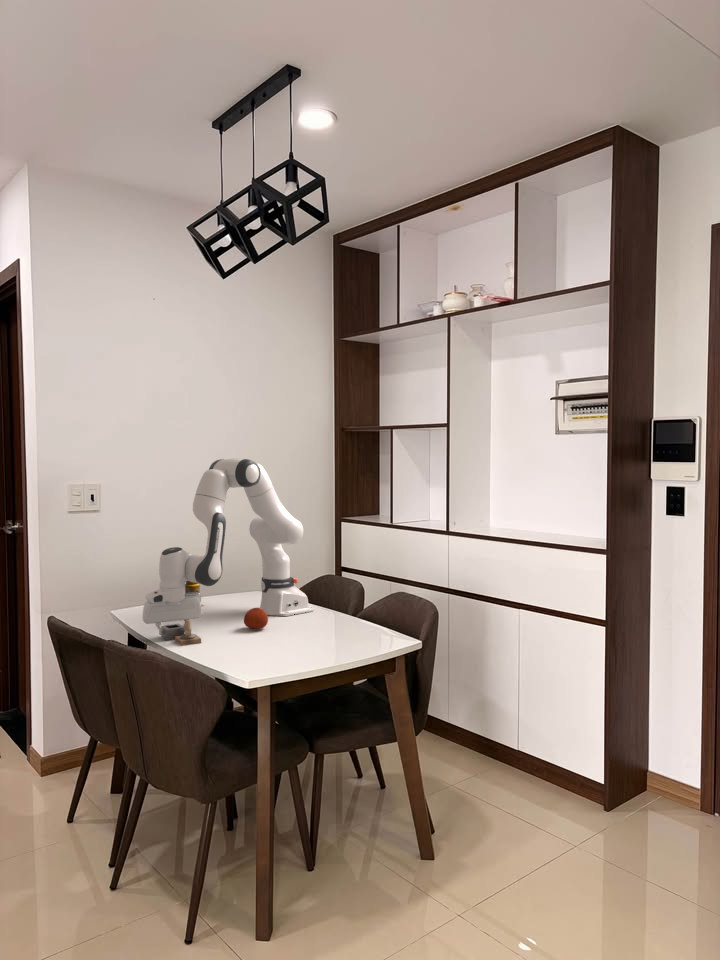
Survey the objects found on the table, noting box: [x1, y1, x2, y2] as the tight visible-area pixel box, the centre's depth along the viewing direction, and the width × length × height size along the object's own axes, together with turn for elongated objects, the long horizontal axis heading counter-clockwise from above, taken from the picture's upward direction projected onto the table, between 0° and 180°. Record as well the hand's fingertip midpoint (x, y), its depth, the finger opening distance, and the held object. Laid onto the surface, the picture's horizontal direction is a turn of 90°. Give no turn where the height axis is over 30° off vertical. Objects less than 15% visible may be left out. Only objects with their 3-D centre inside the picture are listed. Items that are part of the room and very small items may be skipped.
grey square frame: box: [160, 623, 185, 642], centre depth 260 cm, size 6×6×4 cm
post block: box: [174, 619, 202, 647], centre depth 254 cm, size 7×7×8 cm
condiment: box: [185, 581, 204, 607], centre depth 310 cm, size 7×8×12 cm
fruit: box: [243, 607, 269, 630], centre depth 272 cm, size 9×9×8 cm
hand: (172, 633), depth 260 cm, fingers closed on grey square frame, 6 cm apart
